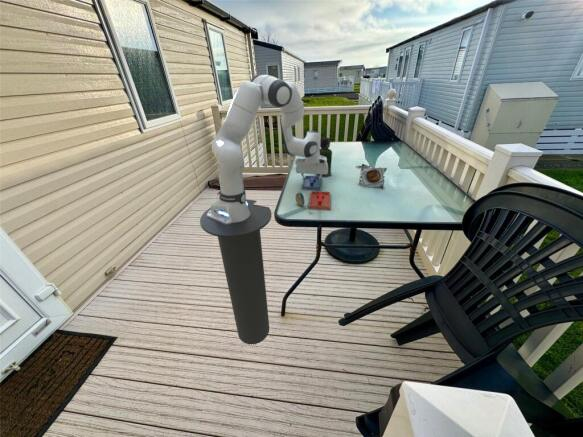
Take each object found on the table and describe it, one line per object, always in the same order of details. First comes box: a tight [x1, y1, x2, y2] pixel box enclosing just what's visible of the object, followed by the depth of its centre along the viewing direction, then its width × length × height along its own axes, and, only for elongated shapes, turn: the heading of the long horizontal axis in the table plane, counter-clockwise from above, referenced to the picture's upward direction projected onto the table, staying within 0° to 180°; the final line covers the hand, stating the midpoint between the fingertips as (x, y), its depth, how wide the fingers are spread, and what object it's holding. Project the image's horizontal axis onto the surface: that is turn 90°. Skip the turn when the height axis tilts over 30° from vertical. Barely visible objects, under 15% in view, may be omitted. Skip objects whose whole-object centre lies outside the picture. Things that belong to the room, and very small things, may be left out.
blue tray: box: [301, 175, 322, 191], centre depth 159 cm, size 18×11×2 cm, turn 172°
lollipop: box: [295, 191, 312, 214], centre depth 131 cm, size 7×1×15 cm
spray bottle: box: [315, 137, 333, 178], centre depth 167 cm, size 10×10×25 cm
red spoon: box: [317, 193, 324, 206], centre depth 137 cm, size 13×4×3 cm, turn 172°
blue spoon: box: [309, 177, 316, 186], centre depth 158 cm, size 13×4×3 cm, turn 172°
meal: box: [358, 163, 388, 189], centre depth 152 cm, size 15×4×13 cm, turn 68°
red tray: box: [308, 190, 331, 211], centre depth 138 cm, size 18×11×2 cm, turn 172°
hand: (311, 179), depth 156 cm, fingers open, 8 cm apart
